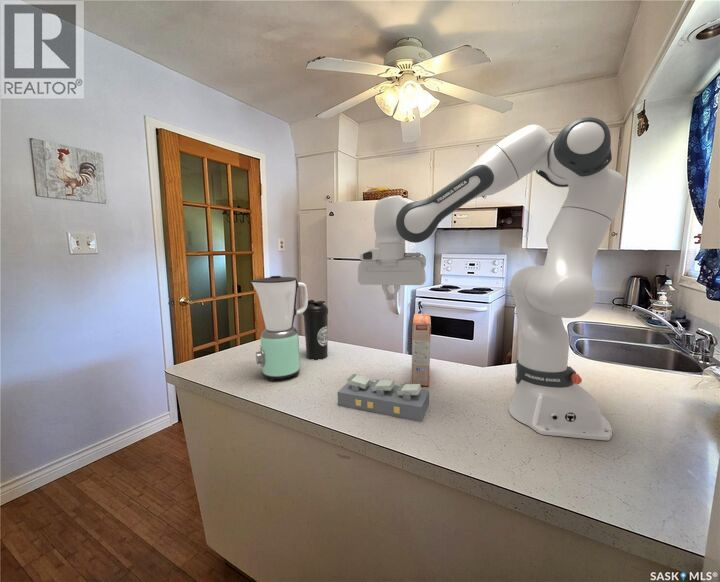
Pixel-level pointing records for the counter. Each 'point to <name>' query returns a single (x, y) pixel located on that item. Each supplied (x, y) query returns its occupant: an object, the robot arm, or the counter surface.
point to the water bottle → (316, 330)
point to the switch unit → (385, 401)
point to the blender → (279, 326)
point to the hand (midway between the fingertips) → (391, 299)
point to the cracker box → (421, 349)
